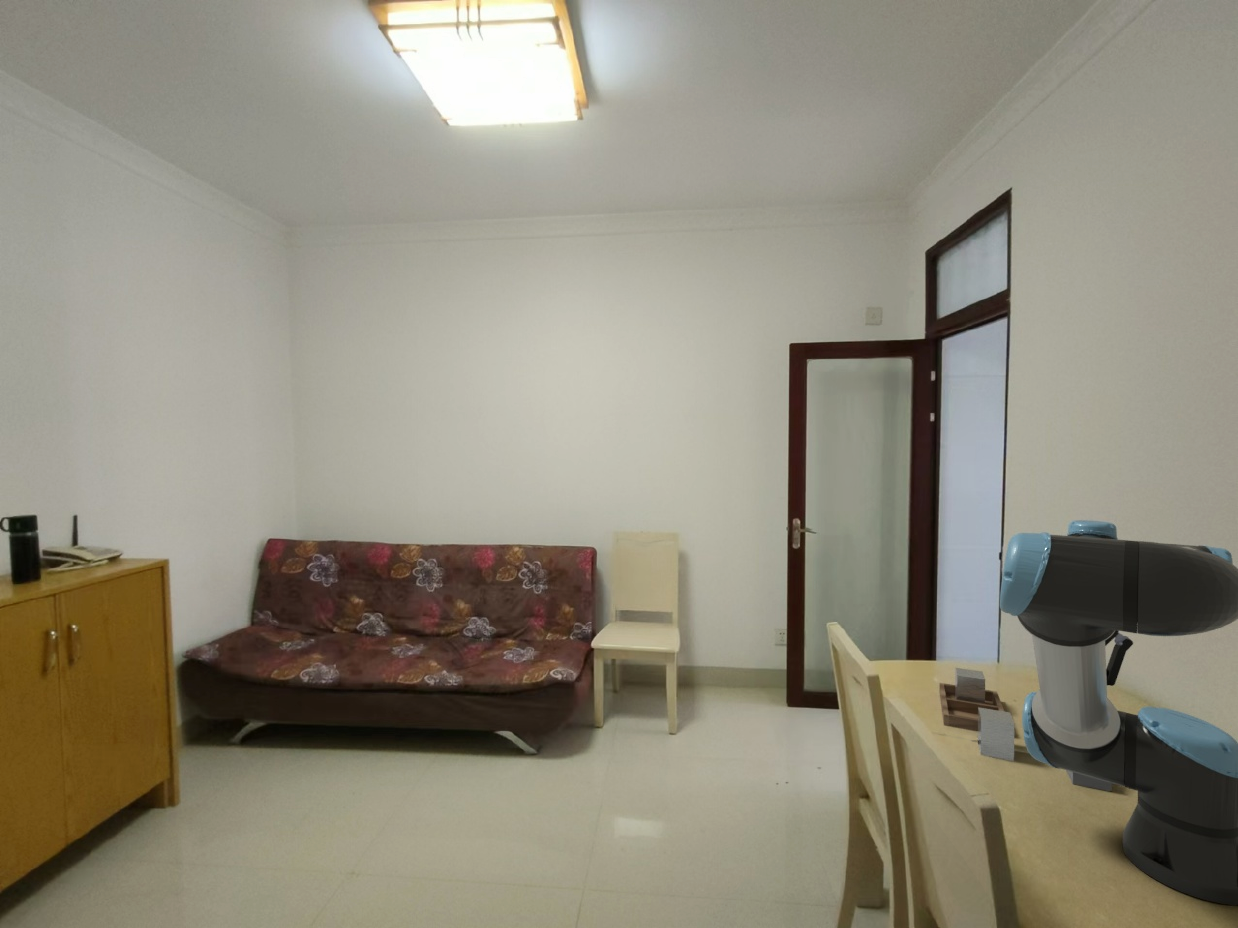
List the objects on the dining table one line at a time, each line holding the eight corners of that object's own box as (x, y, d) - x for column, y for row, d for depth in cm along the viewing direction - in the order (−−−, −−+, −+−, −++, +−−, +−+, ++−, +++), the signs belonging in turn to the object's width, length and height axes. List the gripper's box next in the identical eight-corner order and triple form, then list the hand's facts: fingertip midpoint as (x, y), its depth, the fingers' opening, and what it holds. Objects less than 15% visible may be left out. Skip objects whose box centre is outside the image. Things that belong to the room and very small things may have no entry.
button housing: (1111, 791, 112) (1111, 776, 112) (1072, 783, 115) (1073, 768, 115) (1102, 776, 117) (1102, 761, 117) (1065, 768, 120) (1065, 754, 120)
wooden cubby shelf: (1009, 741, 132) (1009, 726, 131) (943, 729, 137) (943, 714, 137) (996, 704, 150) (996, 691, 150) (939, 695, 156) (939, 682, 156)
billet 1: (984, 711, 144) (985, 679, 144) (956, 706, 147) (957, 675, 147) (982, 702, 150) (982, 671, 149) (955, 697, 152) (955, 667, 152)
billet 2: (1013, 761, 123) (1014, 723, 123) (980, 754, 126) (981, 718, 126) (1009, 748, 129) (1009, 712, 128) (977, 742, 131) (978, 707, 131)
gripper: (1126, 598, 116) (1124, 715, 116) (1046, 591, 122) (1044, 703, 122) (1140, 607, 109) (1137, 731, 110) (1054, 599, 115) (1052, 718, 116)
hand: (1088, 716), depth 116 cm, fingers closed
